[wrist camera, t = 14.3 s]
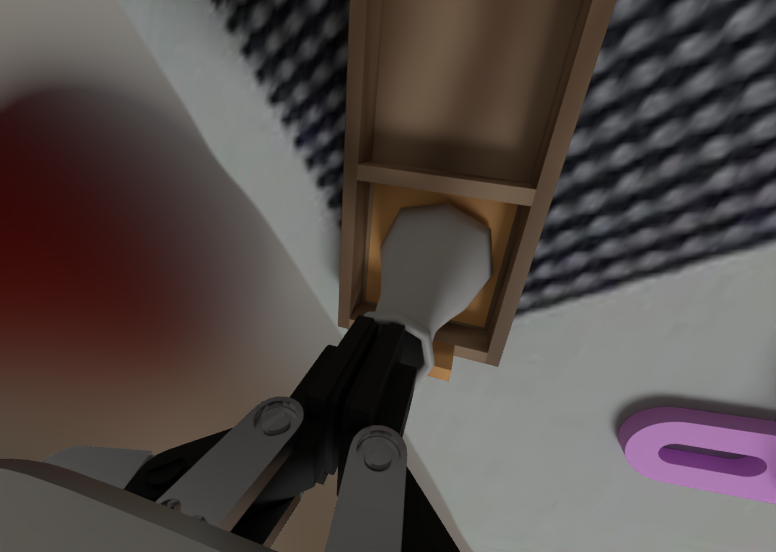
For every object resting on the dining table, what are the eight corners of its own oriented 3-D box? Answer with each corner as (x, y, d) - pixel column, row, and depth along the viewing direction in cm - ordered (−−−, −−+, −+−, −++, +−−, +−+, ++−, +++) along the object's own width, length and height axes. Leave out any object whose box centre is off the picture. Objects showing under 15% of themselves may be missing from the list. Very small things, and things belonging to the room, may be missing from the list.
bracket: (892, 435, 18) (1098, 589, 12) (842, 498, 20) (995, 654, 14) (627, 399, 22) (684, 503, 16) (609, 455, 24) (653, 566, 18)
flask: (389, 189, 19) (302, 236, 11) (512, 215, 18) (528, 296, 9) (374, 291, 22) (298, 392, 14) (476, 321, 21) (464, 455, 12)
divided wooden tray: (615, -55, 13) (690, -163, 9) (496, 337, 22) (499, 395, 17) (376, -53, 16) (327, -139, 11) (354, 303, 24) (322, 347, 19)
